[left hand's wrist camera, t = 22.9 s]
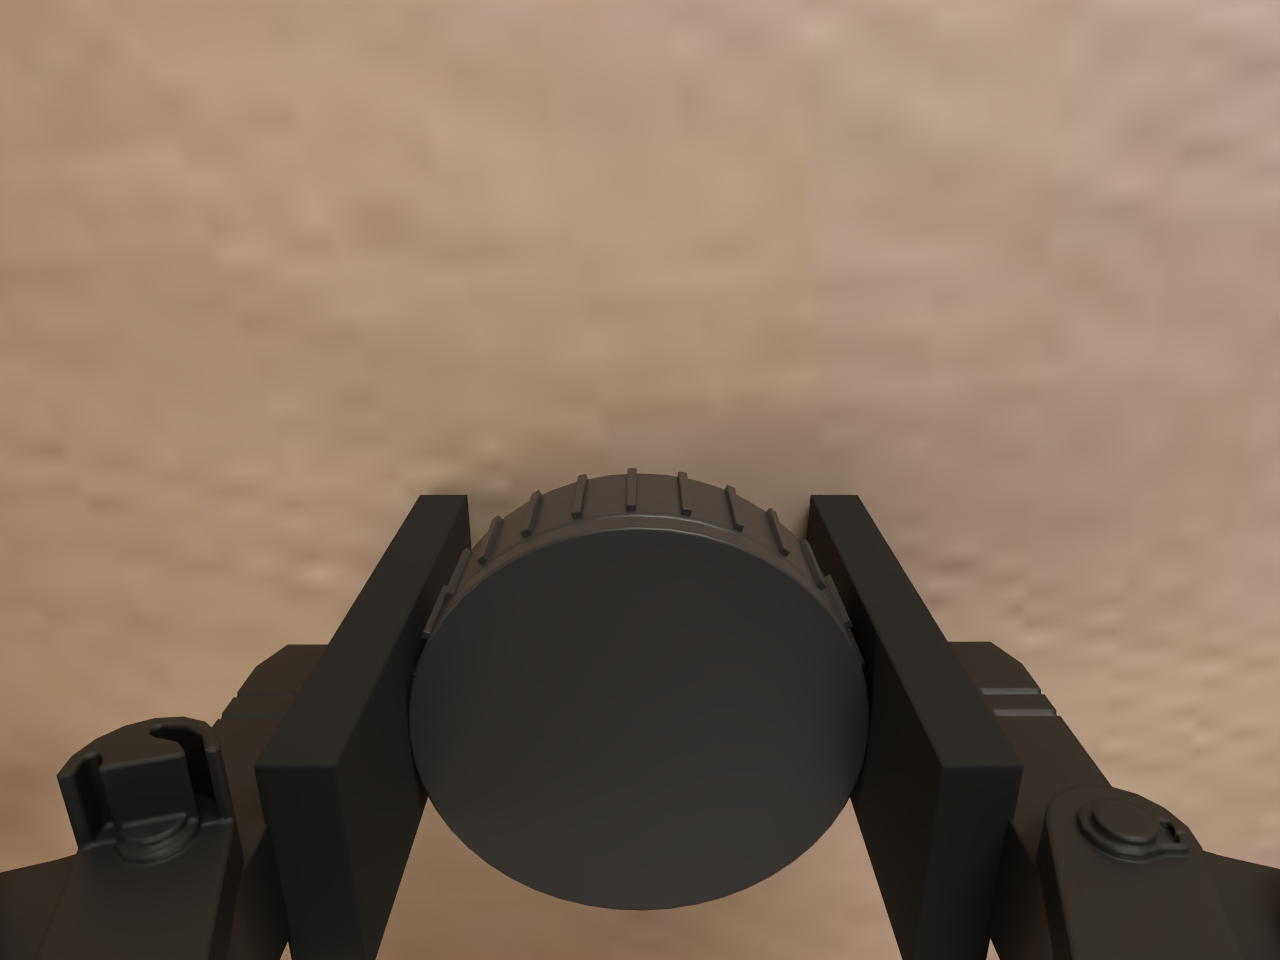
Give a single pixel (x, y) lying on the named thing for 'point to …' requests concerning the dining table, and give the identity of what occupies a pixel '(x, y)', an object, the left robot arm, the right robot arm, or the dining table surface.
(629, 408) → the dining table surface
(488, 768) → the lid
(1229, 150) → the dining table surface
